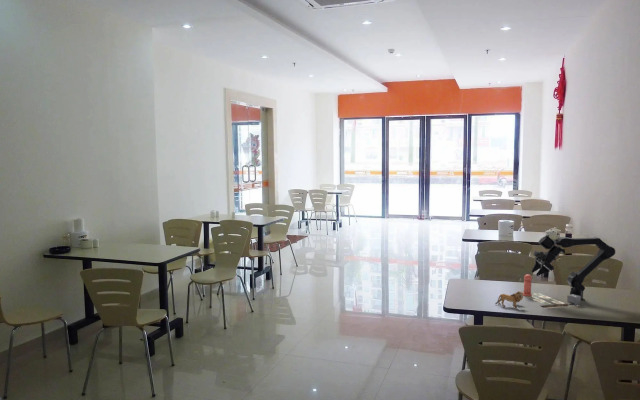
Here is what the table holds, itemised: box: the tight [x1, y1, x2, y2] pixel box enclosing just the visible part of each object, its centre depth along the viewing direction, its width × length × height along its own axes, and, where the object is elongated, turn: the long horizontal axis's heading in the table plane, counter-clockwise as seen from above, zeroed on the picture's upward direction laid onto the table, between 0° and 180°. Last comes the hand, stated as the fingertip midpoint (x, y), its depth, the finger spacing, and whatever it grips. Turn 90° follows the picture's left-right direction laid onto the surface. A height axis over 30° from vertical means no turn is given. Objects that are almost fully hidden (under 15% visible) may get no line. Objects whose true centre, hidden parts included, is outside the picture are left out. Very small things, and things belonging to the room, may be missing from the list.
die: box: [566, 294, 582, 307], centre depth 275 cm, size 5×5×5 cm
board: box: [523, 292, 569, 309], centre depth 280 cm, size 16×23×1 cm
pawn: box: [522, 274, 533, 297], centre depth 287 cm, size 5×5×13 cm
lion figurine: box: [495, 291, 524, 309], centre depth 269 cm, size 15×5×9 cm, turn 75°
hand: (534, 273), depth 289 cm, fingers open, 9 cm apart
